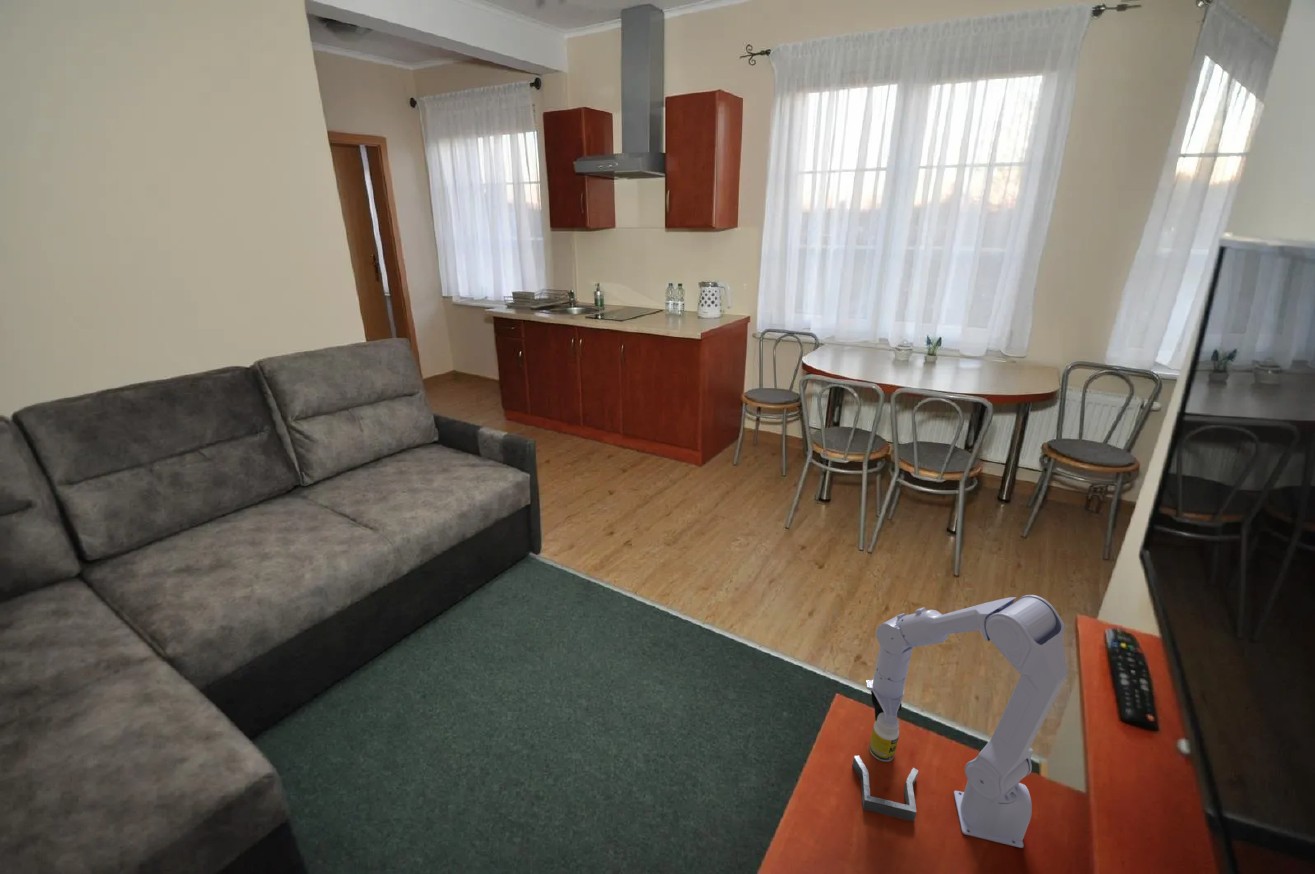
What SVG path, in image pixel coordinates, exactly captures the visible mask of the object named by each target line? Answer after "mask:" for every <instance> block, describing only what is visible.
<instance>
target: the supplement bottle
mask: <svg viewBox="0 0 1315 874" xmlns="http://www.w3.org/2000/svg"><path fill="white" fill-rule="evenodd" d="M884 716H885V714H884V712H883V713H880V714H879V715H878V717H877V721H874V724H873V727H872V733H871V737H870V743H869V748H868V749H869V752H870V753H871V755H872V756H873V757H874V758H875V759H877V760H878V761H880V762H884V763H885V762H890V761H892V760H893V759H894V758H895V754H896V750H897V745H898V741H899V737H900V730H899V729H900V721H899V718H897V720H896V724H895V725H894V724H889V723H885V722H884Z"/></svg>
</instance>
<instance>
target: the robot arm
mask: <svg viewBox="0 0 1315 874" xmlns="http://www.w3.org/2000/svg"><path fill="white" fill-rule="evenodd" d="M1016 599H1017V596H1015V597H1014V596H1013V597H1005V598H999V599H996V600H992V601H988V602H985V603H984V602H983V603H980V604H977V605H973V606H969V607H966V608H962V609H958V610H954V611H951V612H947V613H944V614H942V613H941V612H939V611H938V610H935V609H926V607H919V608H917V609H916V610H915V611H914V613H911V614H906V613H900V614H898V615H895V616H894V617H893V618H891V619H889V620H887V621H885V622H883V623H881V624H880V625H878V626H877V628H876V631H875V634H876V639H877V642H878V643H879V648H878V653H877V658H876V659H877V660H876V663H875V664H876V665H875V670H874V675H873V678H872V679H871V680H870V679H867V680H866V682H865V685H866V686H865V687H866V689H867V690H868V691H870V696H871V697H870V698H871V703H872V706H873V708H874V720H875V721H874V722H876V721H877V717H878V715H879V714H880V713H883V712H884V714H885V716H884V722H885V723H889V724H894V725H895V724H896V720H897V719H898V712H900V711H901V710H902V708H903V707H902V706H903V705H902V702H903V699H904V695H905V686H906V682H907V676H908V672H909V666H910V662H911V658H912V653H913V651H914V648H918V647H925V646H930V645H931V646H932V645H936V644H943V643H945V642H947V640H948V638H949V636H950V635H952V634H953V635H954V634H961V633H968V632H970V633H971V632H978V631H979V632H980V634H981V635H982V637H983V639H984V640H985V641H986V642H990V641H991V643H992V644H993V645H994V646H995V648H996V649H997V650H998V651H999V652H1000V653H1001V654H1002V656H1003V657H1004V658H1005V659H1006V660H1007V661H1008V662H1009V663H1010V665H1011V666H1012V667H1013V668H1014V669H1015V670H1016V671H1017V673H1019V674H1020V676H1019V678H1018V681H1017V683H1016V685H1015V688H1014V689H1013V692H1012V694H1010V695H1011V696H1010V698H1009V700H1008V702H1007V704H1006V706H1005V708H1004V711H1003V713H1002V715H1001V717H1000V719H999V722H998V723H997V725H996V726H995V727H996V728H995V729H994V732H993V734H992V736H991V738H990V740H989V741H988V742H987V743H986V744H985V746H984V747H983V748H982V749H981V751H980V752H979V753H978V755H977V756H976V757H975V758H974V759H972V760H970V761H967V763H966V764H965V767H964V773H965V776H966V779H967V781H966V785H965V788H964V791H959V790H954V791H953V795H954V796H953V797H954V800H955V805H956V810H957V815H958V821H959V824H960V830H961V832H962V834H963V835H966V836H970V837H974V838H979V839H983V840H986V841H987V840H988V841H992V842H995V843H999V844H1003V845H1004V844H1005V845H1007V846H1011V847H1016V848H1020V849H1022V848H1024V842H1023V839H1025V835H1026V832H1027V829H1028V828H1029V827H1028V826H1029V824H1030V822H1031V818H1032V811H1033V810H1032V809H1033V807H1032V806H1033V805H1032V798H1031V795H1030V791H1029V789H1028V787H1027V786H1026V785H1025V783H1022V782H1020V781H1021V780H1023V779H1024V778H1026V777H1027V776H1029V775H1030V774H1031V772H1032V769H1033V766H1032V759H1031V758H1032V754H1033V753H1034V750H1033V748H1032V745H1033V743H1034V741H1035V739H1036V737H1037V735H1038V734H1039V731H1040V730H1041V727H1042V726H1043V724H1044V722H1045V720H1046V718H1047V716H1048V714H1049V712H1050V710H1051V708H1052V706H1053V704H1055V703H1054V702H1055V701H1056V699H1057V698H1058V697H1057V696H1058V695H1059V693H1060V692H1061V689H1062V687H1063V685H1064V683H1065V682H1066V680H1067V677H1068V673H1069V672H1068V666H1067V665H1068V664H1067V659H1066V653H1065V647H1064V634H1065V629H1066V624H1065V623H1064V621H1063V620H1062V619H1063V618H1062V617H1061V616H1060V615H1059V613H1058V612H1057V610H1056V608H1055V607H1054V606H1053V605H1052V604H1051V603H1050V602H1049V601H1047V599H1045V598H1044V597H1041V596H1039V595H1035V594H1026V595H1023V596H1021V597H1019V599H1017V601H1015V600H1016Z"/></svg>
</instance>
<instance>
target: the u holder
mask: <svg viewBox="0 0 1315 874" xmlns="http://www.w3.org/2000/svg"><path fill="white" fill-rule="evenodd" d="M851 766H852V768H853V770H854V771H855V773H856V775H857V777H858V778H859V780H860V789H861V801H862V802H861V804H862V810H864V811H867V812H873V813H877V814H880V815H885V816H889V817H893V818H896V819H901V820H906V821H909V822H913V823H914V822H915V820H916V816H917V807H916V806H917V805H916V799H915V793H914V785H915V784H916V781H917V778H918V774H919V770H918V769H916V768H915V767H912V769H911V770H910V773H909V774H908V776H907V778H906V780H905V784H904V789H903V792H904V793H903V794H904V799H905V800H904V801H905V803H900V802H897V801H893V800H889V799H885V798H880V797H876V796H871V789H870V787H871V786H870V774H869V770H868V769H867V767H866V764H864V762H863V760H862V758H861V757H860V755H854V756H853V760H852V764H851Z"/></svg>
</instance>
